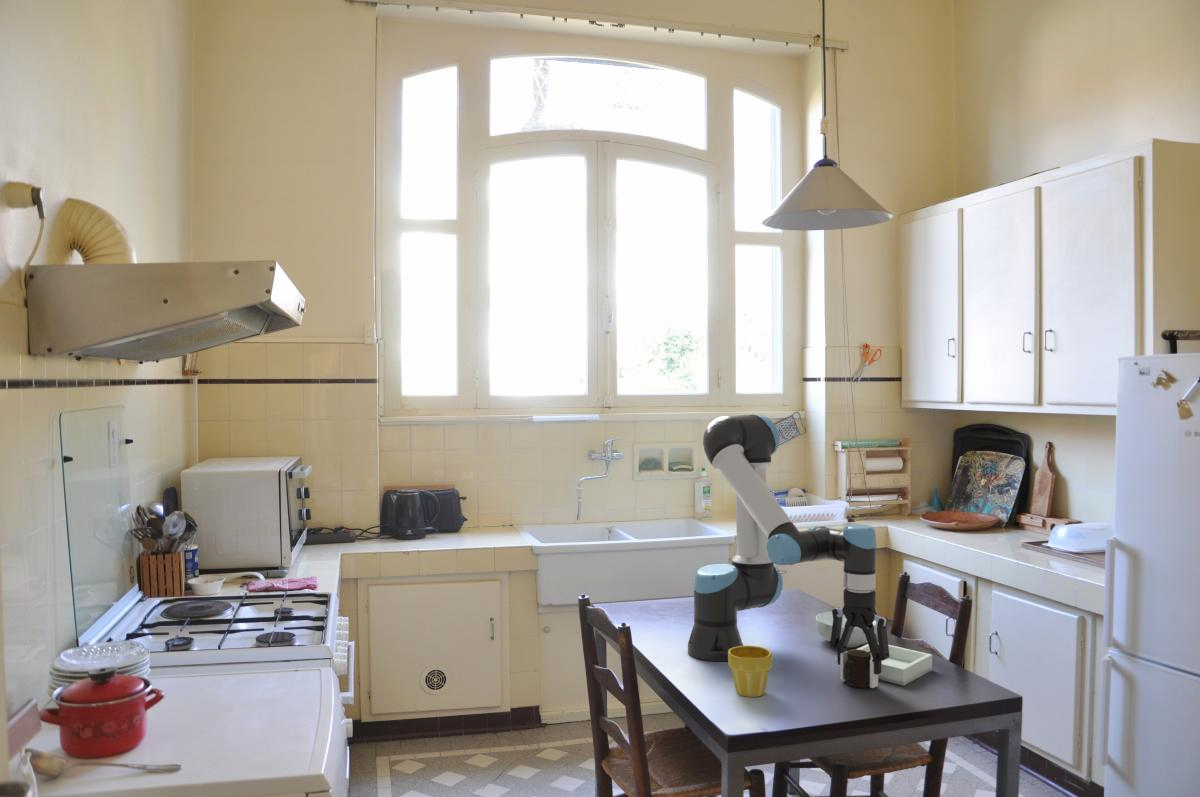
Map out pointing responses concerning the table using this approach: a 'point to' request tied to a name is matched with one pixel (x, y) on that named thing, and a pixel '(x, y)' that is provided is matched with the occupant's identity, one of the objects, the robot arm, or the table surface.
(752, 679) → the plant pot
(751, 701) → the table surface
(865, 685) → the mate gourd
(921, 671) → the open box
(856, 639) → the cereal bowl
